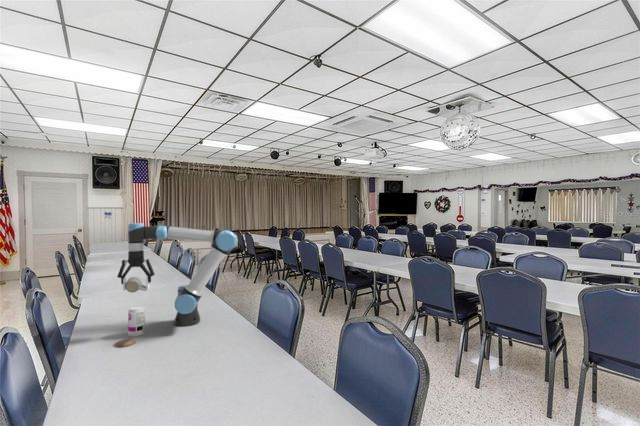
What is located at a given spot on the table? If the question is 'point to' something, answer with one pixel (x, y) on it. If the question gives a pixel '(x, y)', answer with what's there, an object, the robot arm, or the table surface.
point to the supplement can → (136, 321)
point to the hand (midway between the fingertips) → (136, 289)
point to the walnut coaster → (125, 343)
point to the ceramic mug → (135, 284)
